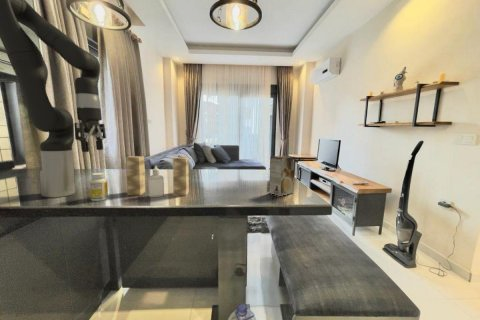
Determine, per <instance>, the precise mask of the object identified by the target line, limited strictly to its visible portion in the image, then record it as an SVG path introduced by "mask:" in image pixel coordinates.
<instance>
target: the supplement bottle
mask: <svg viewBox="0 0 480 320" xmlns="http://www.w3.org/2000/svg"><path fill="white" fill-rule="evenodd" d="M91 178H92V179H91V180H90V181H89V186H90V189H89V190H90V200H91V201H93V202H101V201H106V200H107V199H108V198H109V191H108V189H109V188H108V187H109V186H108V179H107V178H106V173H105V172H93V173H91Z"/></svg>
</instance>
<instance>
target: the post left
mask: <svg viewBox="0 0 480 320" xmlns="http://www.w3.org/2000/svg"><path fill="white" fill-rule="evenodd" d="M125 164H126V165H125V166H126V167H125V168H126V187H127V188H126V189H127V196H141V195H143V194H145V193H146V172H145V167H146V166H145V156H143V155H131V156H130V155H129V156H126V157H125Z"/></svg>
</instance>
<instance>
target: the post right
mask: <svg viewBox="0 0 480 320" xmlns="http://www.w3.org/2000/svg"><path fill="white" fill-rule="evenodd" d="M189 165H190V164H189V157H188V156H175V157H173V158H172V179H173V183H172V185H173V187H172V189H173V191H172V192H173V197H186V196H187V195H188V194H189V191H190V189H189V188H190V187H189V185H190V184H189V180H190V179H189V175H190V173H189Z"/></svg>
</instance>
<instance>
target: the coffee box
mask: <svg viewBox="0 0 480 320" xmlns="http://www.w3.org/2000/svg"><path fill="white" fill-rule="evenodd" d="M269 161H270V165H269V166H270V167H269V169H270V171H269V193H271V194H270V195H272V194H275V195H274V196H276V195H278V196H277V197H279V196H282V197H284V196H283V195H286V196H288V195H287V194H289V195H291V194H290V193H293V194H294V188H295V167H296V156H290V155H279V156H278V155H276V156H270V160H269ZM269 193H268V194H269Z"/></svg>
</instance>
